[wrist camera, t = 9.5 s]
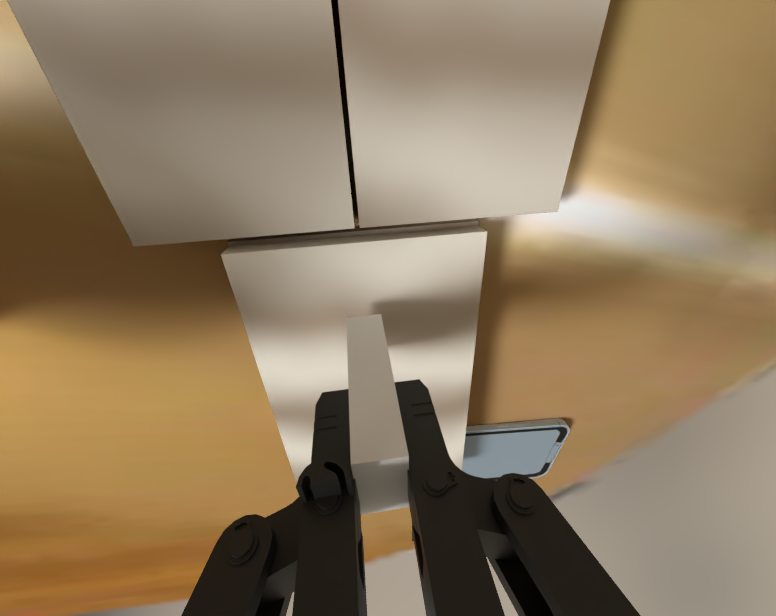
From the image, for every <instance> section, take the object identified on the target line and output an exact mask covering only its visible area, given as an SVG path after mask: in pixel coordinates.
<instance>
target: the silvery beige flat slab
mask: <svg viewBox="0 0 776 616" xmlns="http://www.w3.org/2000/svg"><path fill="white" fill-rule="evenodd" d="M486 240H487V231H486V230H485V229H483V228H482V227H480V226H479V221H478V220H477V219H475V218H474V219H462V220H450V221H438V222H426V223H414V224H402V225H390V226H378V227H366V228H360V227H359V228H354V229H342V230H330V231H318V232H306V233H294V234H282V235H270V236H258V237H246V238H234V239H230V240H229V241H228V242H227V243H228V246H229V247H228V248H227V249H226V250H225V251H224V252H223V253H222V254H221V257H222V260H223V263H224V266H225V269H226V272H227V275H228V278H229V281H230V284H231V287H232V290H233V293H234V296H235V299H236V302H237V305H238V308H239V311H240V314H241V317H242V320H243V323H244V326H245V329H246V332H247V335H248V338H249V341H250V344H251V347H252V350H253V353H254V357H255V360H256V363H257V366H258V369H259V372H260V375H261V378H262V381H263V384H264V387H265V390H266V393H267V396H268V399H269V402H270V405H271V408H272V411H273V414H274V417H275V420H276V423H277V426H278V429H279V432H280V435H281V438H282V441H283V444H284V447H285V450H286V453H287V456H288V459H289V462H290V465H291V468H292V471H293V474H294V477H295V480H296V483H297V482H298V479H299V476H300V475H301V473H302V472H303V470H304V469H305V468H306V467H307V466H308V465H309V464H311V455H312V443H313V432H314V421H315V406H316V403H317V401H318V400H319V398H320V396H321V394H322V392H329V391H337V390H345V389H348V355H347V321H346V318H348V317H357V316H367V315H376V314H381V316H382V322H383V327H384V332H385V337H386V342H387V347H388V352H389V357H390V362H391V368H392V373H393V378H394V382H401V381H409V380H417V379H420V380H421V382H422V383H423V384H424V385H425V386H426V387H427V388H428V390H429V393H430V396H431V400H432V404H433V406H434V409H435V414H436V416H437V419H438V422H439V425H440V429H441V432H442V435H443V438H444V442H445V445H446V448H447V451H448V454H449V456H450V458H451V460H452V461H453V463H454V464H455V465H456V466H457V467H458V468H459V469H460V470H462V463H463V453H464V444H465V435H466V425H467V416H468V407H469V398H470V388H471V379H472V370H473V361H474V351H475V342H476V333H477V324H478V314H479V305H480V296H481V286H482V277H483V268H484V259H485V249H486Z"/></svg>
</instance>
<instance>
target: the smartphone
mask: <svg viewBox="0 0 776 616" xmlns="http://www.w3.org/2000/svg"><path fill="white" fill-rule="evenodd" d="M569 432H570V428H569V427H568V425H567V424H566V422H565V421H564V420H563V419H560V418H554V419H543V420H532V421H520V422H509V423H498V424H487V425H476V426H466V435H465V444H464V453H463V463H462V471H463V472H465V473H467V474H469V475H472V476H476V477H481V478H486V479H491V480H496V481H497V479H499V478H500V477H501V476H502V475H504V474H509V473H517V474H522V475H524V476H526V477H528V478H537V477H540V476H543V475H545V474H546V473H547V472H548V471H549V469H550V467H551V465H552V464H553V462H554V460H555V458H556V456H557V454H558V452H559V450H560V449H561V447H562V445H563V443H564V441H565V439H566V437H567V436H568V434H569Z"/></svg>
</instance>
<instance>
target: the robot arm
mask: <svg viewBox="0 0 776 616" xmlns="http://www.w3.org/2000/svg"><path fill="white" fill-rule="evenodd" d="M346 321H347V355H348V389H345V390H337V391H329V392H322V394H321V396H320V398H319V400H318V401H317V403H316V406H315V421H314V432H313V443H312V455H311V464H309V465H308V466H307V467H306V468H305V469H304V470H303V472H302V473H301V475H300V476H299V479H298V482H297V485H296V488H297V491H298V493H299V496H300V497H299V498H297V499H296V500H295V501H294V502H293V503H292V504H290V505H289V506H287V507H285V508H283V509H281V510H280V511H278V512H276V513H274V514H272V515H270V516H268V517H266V518H265V517H262V516H259V515H256V514H254V515H245V516H243V517H242V518H240V519H238V520H236V521H234V522H233V523H232V524H231V525H230V526H229V527H227V528H226V529H225V530H224V532H223V533H222V535H221V536H220V538H219V539H218V541H217V543H216V545H215V547H214V549H213V551H212V553H211V555H210V557H209V559H208V561H207V564H206V566H205V568H204V570H203V572H202V574H201V576H200V578H199V580H198V582H197V584H196V586H195V589H194V591H193V593H192V595H191V597H190V599H189V601H188V603H187V605H186V607H185V609H184V612H183V614H182V616H286V613H287V609H288V606H289V602H290V598H291V595H292V593H293V592H294V591H295V593H294V603H293V614H292V616H367V604H366V586H365V569H364V549H363V536H362V532H361V515H362V514H368V513H375V512H381V511H387V510H393V509H399V508H405V507H409V506H410V512H411V518H412V541H414V544H415V550H416V556H417V562H418V568H419V574H420V579H421V586H422V591H423V598H424V604H425V609H426V616H505V615H504V612H503V609H502V606H501V603H500V599H499V596H498V593H497V590H496V587H495V584H494V581H493V578H492V574H491V571H490V568H489V565H488V562H487V559H486V557H488V559H489V561H490V563H491V565H492V567H493V568H494V570H495V572H496V574H497V576H498V578H499V580H500V581H501V584H502V585H503V587H504V589H505V591H506V593H507V594H508V596H509V598H510V600H511V602H512V604H513V606H514V608H515V610H516V611H517V613H518V615H519V616H640V615H639V613H638V612H637V611H636V609H635V608H634V607H633V606H632V604H631V603H630V602H629V600H628V599H627V598H626V597H625V595H624V594H623V593H622V592H621V590H620V589H619V588H618V586H617V585H616V584H615V582H614V581H613V580H612V579H611V577H610V576H609V575H608V573H607V572H606V571H605V570H604V568H603V567H602V566H601V564H600V563H599V562H598V561H597V559H596V558H595V557H594V556H593V554H592V553H591V552H590V550H589V549H588V548H587V546H586V545H585V544H584V543H583V541H582V540H581V539H580V538H579V536H578V535H577V534H576V532H575V531H574V530H573V529H572V527H571V526H570V525H569V523H568V522H567V521H566V519H565V518H564V517H563V516H562V514H561V513H560V512H559V511H558V509H557V508H556V507H555V505H554V504H553V503H552V501H551V500H550V499H549V497H548V496H547V495H546V494H545V492H544V491H543V490H542V489H541V488H540V487H539V486H538V485H537V484H536V483H535V482H534V481H533V480H532V479H530V478H528V477H526V476H524V475H522V474H517V473H509V474H504V475H502V476H501V477H500V478H499V479H497V481H496V480H491V479H486V478H481V477H476V476H472V475H469V474H467V473H465V472H463V471H462V470H460V469H459V468H458V467H457V466H456V465H455V464H454V463H453V461H452V460H451V458H450V456H449V454H448V451H447V448H446V445H445V442H444V438H443V435H442V432H441V429H440V425H439V422H438V419H437V416H436V414H435V409H434V406H433V404H432V400H431V396H430V393H429V390H428V388H427V387H426V386H425V385H424V384H423V383H422V382H421V380H420V379H417V380H409V381H401V382H394V378H393V373H392V368H391V362H390V357H389V352H388V347H387V342H386V337H385V332H384V327H383V322H382V316H381V314H376V315H367V316H357V317H348V318H346Z"/></svg>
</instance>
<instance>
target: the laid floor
mask: <svg viewBox="0 0 776 616" xmlns="http://www.w3.org/2000/svg"><path fill="white" fill-rule="evenodd" d="M7 2H8V4H9V6H10V8H11V10H12V12H13V13H14V15H15V17H16V19H17V21H18V23H19V25H20V27H21V29H22V31H23V33H24V35H25V37H26V39H27V41H28V43H29V44H30V46H31V48H32V50H33V52H34V54H35V56H36V58H37V60H38V62H39V64H40V66H41V68H42V70H43V72H44V74H45V75H46V77H47V79H48V81H49V83H50V85H51V87H52V89H53V91H54V93H55V95H56V97H57V99H58V101H59V103H60V105H61V106H62V108H63V110H64V112H65V114H66V116H67V118H68V120H69V122H70V124H71V126H72V128H73V130H74V132H75V134H76V136H77V137H78V139H79V141H80V143H81V145H82V147H83V149H84V151H85V153H86V155H87V157H88V159H89V161H90V163H91V165H92V166H93V168H94V170H95V172H96V174H97V176H98V178H99V180H100V182H101V184H102V186H103V188H104V190H105V192H106V194H107V196H108V197H109V199H110V201H111V203H112V205H113V207H114V209H115V211H116V213H117V215H118V217H119V219H120V221H121V223H122V225H123V227H124V228H125V230H126V232H127V234H128V236H129V238H130V240H131V242H132V244H133V246H134V247H137V246H149V245H161V244H173V243H185V242H197V241H209V240H222V239H234V238H246V237H258V236H270V235H282V234H294V233H306V232H318V231H330V230H342V229H354V228H355V226H354V216H353V207H352V197H351V188H350V178H349V168H348V159H347V149H346V140H345V130H344V120H343V111H342V101H341V92H340V82H339V72H338V63H337V53H336V44H335V34H334V24H333V15H332V5H331V0H7ZM337 3H338V14H339V24H340V35H341V45H342V55H343V66H344V76H345V87H346V97H347V107H348V118H349V128H350V139H351V149H352V159H353V170H354V180H355V191H356V201H357V211H358V220H359V227H360V228H366V227H378V226H390V225H402V224H414V223H426V222H438V221H450V220H462V219H474V218H486V217H498V216H510V215H522V214H534V213H546V212H557V211H558V207H559V203H560V199H561V195H562V191H563V187H564V183H565V179H566V175H567V171H568V167H569V163H570V159H571V155H572V151H573V147H574V143H575V139H576V135H577V131H578V127H579V123H580V119H581V115H582V111H583V107H584V103H585V99H586V95H587V92H588V88H589V84H590V80H591V76H592V72H593V68H594V64H595V60H596V56H597V52H598V48H599V44H600V40H601V36H602V32H603V28H604V24H605V20H606V16H607V12H608V8H609V4H610V0H337Z"/></svg>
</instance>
